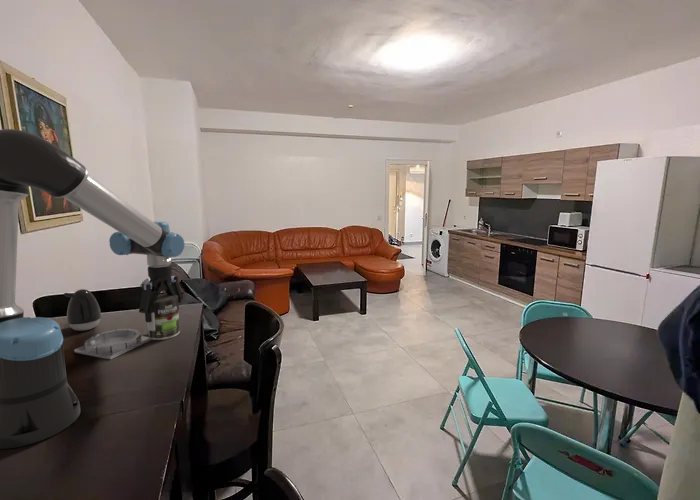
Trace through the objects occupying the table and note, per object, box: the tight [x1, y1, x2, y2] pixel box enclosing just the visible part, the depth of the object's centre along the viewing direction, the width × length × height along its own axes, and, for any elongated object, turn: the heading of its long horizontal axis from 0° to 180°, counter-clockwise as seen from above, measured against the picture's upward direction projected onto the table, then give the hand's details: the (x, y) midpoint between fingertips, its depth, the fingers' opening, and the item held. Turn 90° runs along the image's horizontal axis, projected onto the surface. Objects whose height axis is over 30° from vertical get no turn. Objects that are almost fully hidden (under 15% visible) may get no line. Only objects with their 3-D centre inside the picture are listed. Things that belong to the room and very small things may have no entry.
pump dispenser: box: [63, 288, 102, 332], centre depth 127 cm, size 10×10×15 cm
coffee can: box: [147, 293, 180, 341], centre depth 123 cm, size 10×10×14 cm
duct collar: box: [74, 328, 152, 360], centre depth 114 cm, size 15×15×3 cm
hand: (163, 324), depth 123 cm, fingers closed on coffee can, 10 cm apart
